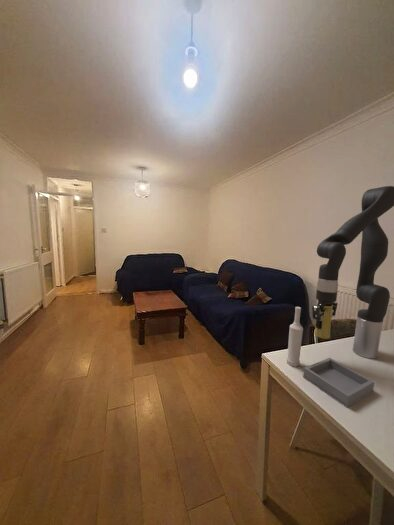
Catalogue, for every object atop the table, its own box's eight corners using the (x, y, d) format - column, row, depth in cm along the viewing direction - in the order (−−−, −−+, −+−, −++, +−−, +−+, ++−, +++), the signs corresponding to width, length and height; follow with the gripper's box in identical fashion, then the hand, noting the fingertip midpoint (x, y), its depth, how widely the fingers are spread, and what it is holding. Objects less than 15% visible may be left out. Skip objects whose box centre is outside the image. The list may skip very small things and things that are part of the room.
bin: (328, 366, 91) (329, 357, 91) (372, 391, 77) (374, 381, 77) (303, 377, 84) (304, 367, 83) (346, 407, 70) (348, 396, 69)
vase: (332, 339, 91) (336, 307, 89) (316, 338, 92) (319, 306, 90) (327, 333, 97) (330, 302, 95) (312, 331, 98) (315, 301, 96)
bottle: (293, 368, 90) (298, 310, 86) (283, 361, 94) (288, 306, 91) (302, 365, 92) (308, 308, 88) (292, 358, 96) (297, 304, 93)
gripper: (328, 285, 98) (324, 320, 100) (307, 289, 91) (304, 326, 94) (346, 289, 91) (341, 327, 94) (324, 293, 85) (320, 334, 87)
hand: (323, 326), depth 94 cm, fingers closed on vase, 5 cm apart
